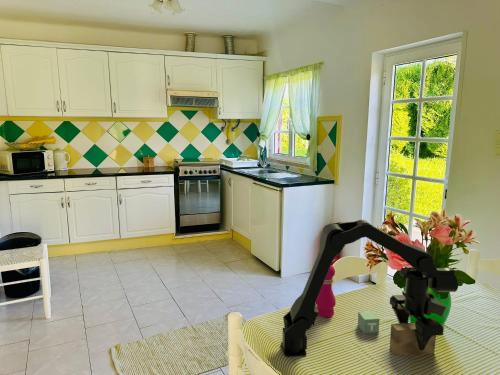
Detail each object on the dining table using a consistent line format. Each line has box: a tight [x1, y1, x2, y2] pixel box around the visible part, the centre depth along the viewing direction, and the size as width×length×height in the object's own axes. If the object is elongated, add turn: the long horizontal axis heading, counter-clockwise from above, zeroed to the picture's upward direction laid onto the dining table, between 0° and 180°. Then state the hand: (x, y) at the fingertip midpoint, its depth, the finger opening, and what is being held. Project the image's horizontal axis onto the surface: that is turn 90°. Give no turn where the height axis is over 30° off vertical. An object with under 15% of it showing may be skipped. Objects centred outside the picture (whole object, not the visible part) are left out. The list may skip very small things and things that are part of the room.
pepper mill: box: [315, 264, 336, 318], centre depth 124 cm, size 7×7×20 cm
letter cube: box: [357, 310, 380, 335], centre depth 115 cm, size 5×5×5 cm
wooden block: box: [389, 322, 437, 357], centre depth 104 cm, size 12×4×8 cm, turn 95°
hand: (412, 340), depth 104 cm, fingers open, 9 cm apart
